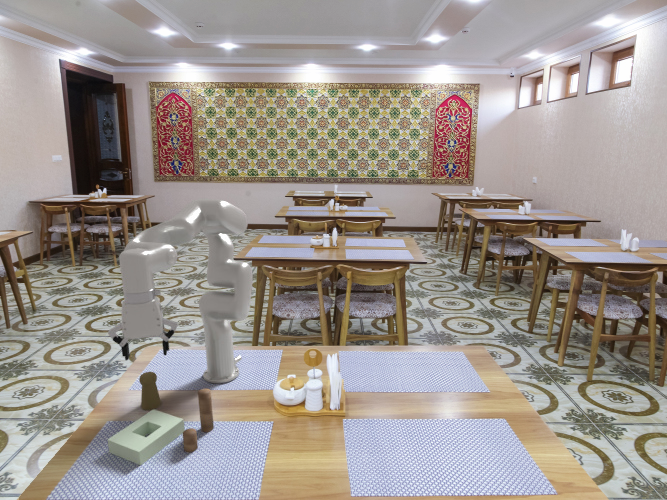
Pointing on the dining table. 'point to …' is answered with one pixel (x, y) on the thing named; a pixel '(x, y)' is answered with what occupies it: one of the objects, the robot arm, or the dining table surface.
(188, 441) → the short peg
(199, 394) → the long peg
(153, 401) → the olive brown pawn
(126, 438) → the hole block
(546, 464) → the dining table surface
